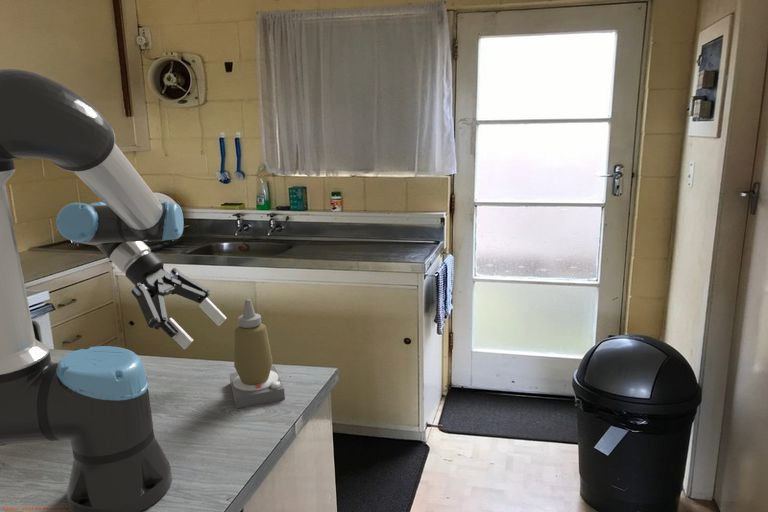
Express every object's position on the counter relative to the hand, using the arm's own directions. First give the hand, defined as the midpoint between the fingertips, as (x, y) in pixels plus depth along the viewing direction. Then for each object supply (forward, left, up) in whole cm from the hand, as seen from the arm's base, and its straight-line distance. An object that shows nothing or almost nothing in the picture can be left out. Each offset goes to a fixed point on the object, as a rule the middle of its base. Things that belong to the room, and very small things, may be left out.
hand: (206, 333), depth 123 cm
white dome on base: (-6, -9, -13) cm, 17 cm away
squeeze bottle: (-6, -9, -10) cm, 15 cm away
